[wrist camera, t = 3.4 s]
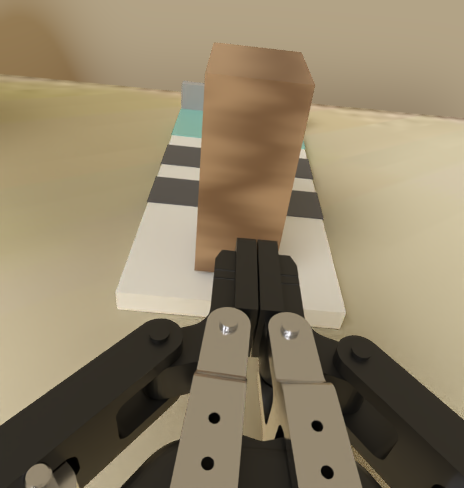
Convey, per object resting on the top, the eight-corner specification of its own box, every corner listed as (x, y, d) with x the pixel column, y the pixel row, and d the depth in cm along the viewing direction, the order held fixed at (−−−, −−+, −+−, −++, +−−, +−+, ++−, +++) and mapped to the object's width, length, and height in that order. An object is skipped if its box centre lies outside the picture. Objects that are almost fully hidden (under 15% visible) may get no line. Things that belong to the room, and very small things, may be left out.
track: (116, 309, 25) (110, 253, 22) (181, 118, 50) (182, 80, 47) (340, 329, 26) (361, 277, 23) (294, 130, 50) (302, 94, 48)
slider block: (194, 270, 26) (205, 72, 18) (202, 216, 30) (213, 42, 23) (272, 277, 26) (315, 85, 18) (269, 223, 30) (301, 52, 23)
